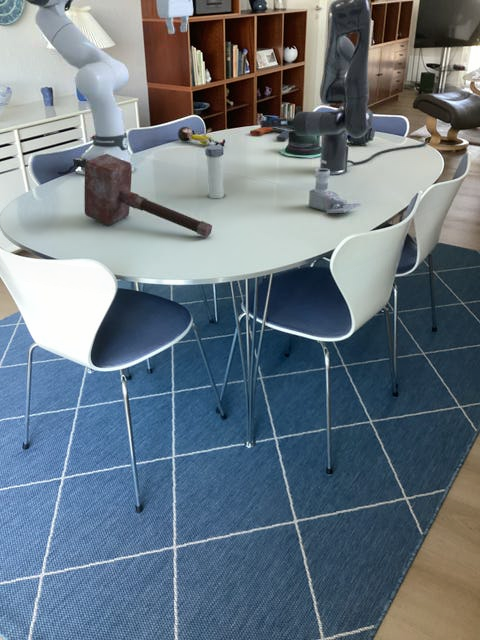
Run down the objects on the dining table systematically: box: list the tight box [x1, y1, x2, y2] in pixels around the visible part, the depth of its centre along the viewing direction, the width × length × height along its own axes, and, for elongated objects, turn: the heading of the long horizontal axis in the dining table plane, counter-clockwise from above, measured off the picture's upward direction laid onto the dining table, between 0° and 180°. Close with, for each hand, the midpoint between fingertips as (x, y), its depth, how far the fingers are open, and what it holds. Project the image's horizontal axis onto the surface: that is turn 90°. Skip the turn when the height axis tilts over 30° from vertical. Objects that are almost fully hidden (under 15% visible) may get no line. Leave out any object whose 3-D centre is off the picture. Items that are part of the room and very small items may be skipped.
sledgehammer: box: [83, 154, 213, 238], centre depth 159 cm, size 17×10×40 cm
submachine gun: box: [249, 126, 289, 141], centre depth 263 cm, size 32×3×25 cm
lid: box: [204, 144, 224, 157], centre depth 180 cm, size 6×6×2 cm
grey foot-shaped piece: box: [308, 167, 361, 214], centre depth 169 cm, size 9×12×15 cm
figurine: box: [177, 126, 226, 147], centre depth 251 cm, size 13×8×25 cm
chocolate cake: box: [279, 130, 321, 159], centre depth 234 cm, size 15×19×20 cm
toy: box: [347, 124, 376, 146], centre depth 244 cm, size 9×9×15 cm
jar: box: [206, 155, 225, 199], centre depth 183 cm, size 5×5×16 cm
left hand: (177, 32), depth 183 cm, fingers open, 8 cm apart
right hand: (267, 124), depth 190 cm, fingers open, 8 cm apart
